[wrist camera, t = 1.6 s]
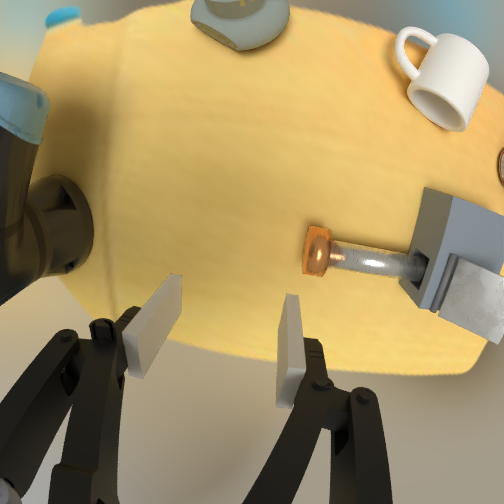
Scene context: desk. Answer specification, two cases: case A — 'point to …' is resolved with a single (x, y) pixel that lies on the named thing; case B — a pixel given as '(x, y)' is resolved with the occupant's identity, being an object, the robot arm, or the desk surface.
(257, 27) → the air freshener
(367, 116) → the desk surface
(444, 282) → the grey box with lid
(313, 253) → the pin
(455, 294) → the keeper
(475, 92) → the mug
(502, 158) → the soda can
